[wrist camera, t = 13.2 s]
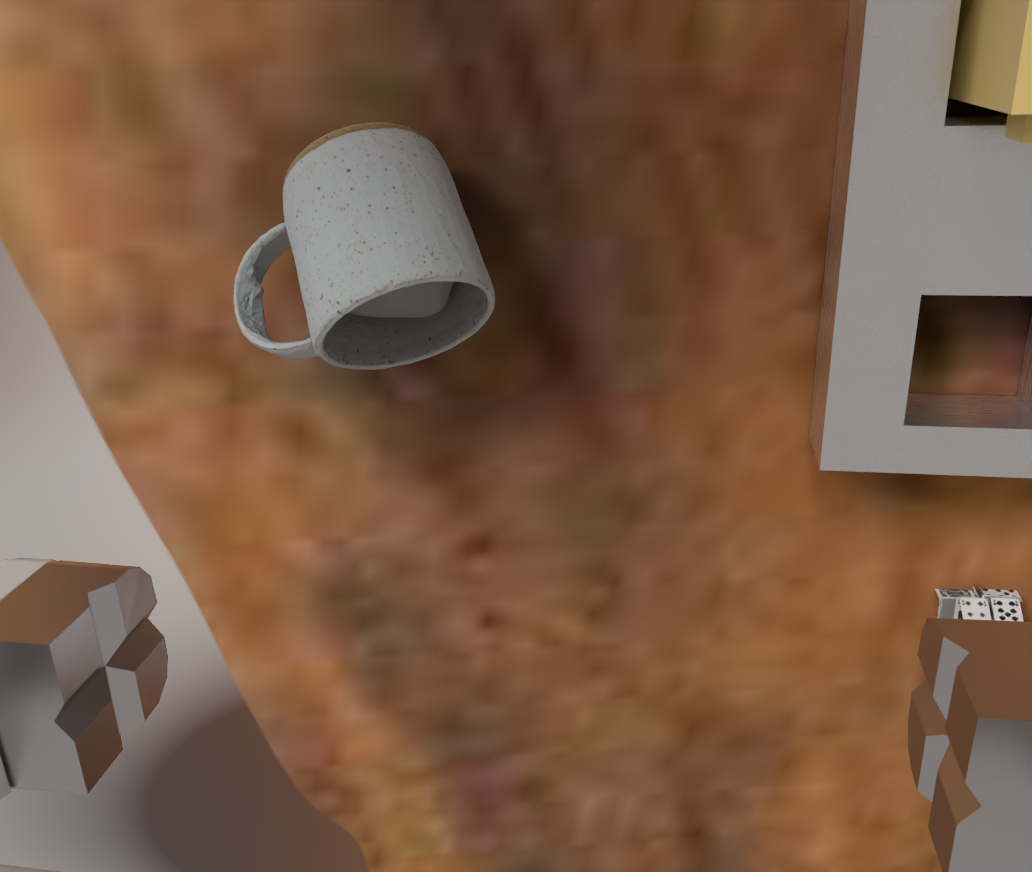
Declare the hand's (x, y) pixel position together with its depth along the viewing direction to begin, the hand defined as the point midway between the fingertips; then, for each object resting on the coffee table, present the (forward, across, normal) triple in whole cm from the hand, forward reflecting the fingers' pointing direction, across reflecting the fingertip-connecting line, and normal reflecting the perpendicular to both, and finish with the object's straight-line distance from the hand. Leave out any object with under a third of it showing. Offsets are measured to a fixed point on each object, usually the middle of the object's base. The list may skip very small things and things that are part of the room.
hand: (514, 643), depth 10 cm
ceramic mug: (+35, +12, +3) cm, 37 cm away
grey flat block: (+35, -14, +1) cm, 38 cm away
